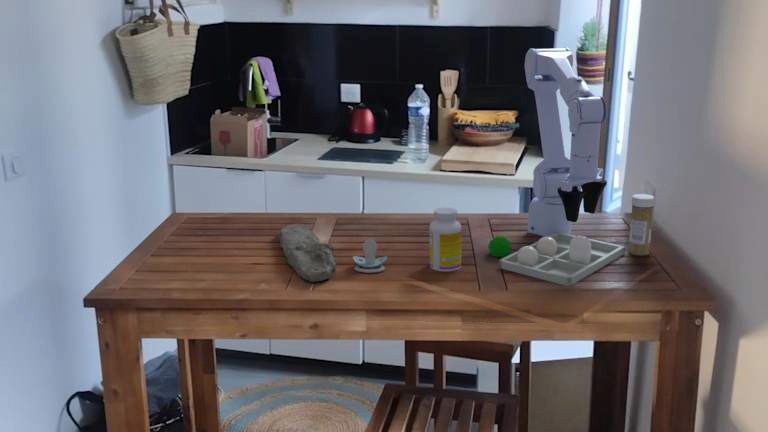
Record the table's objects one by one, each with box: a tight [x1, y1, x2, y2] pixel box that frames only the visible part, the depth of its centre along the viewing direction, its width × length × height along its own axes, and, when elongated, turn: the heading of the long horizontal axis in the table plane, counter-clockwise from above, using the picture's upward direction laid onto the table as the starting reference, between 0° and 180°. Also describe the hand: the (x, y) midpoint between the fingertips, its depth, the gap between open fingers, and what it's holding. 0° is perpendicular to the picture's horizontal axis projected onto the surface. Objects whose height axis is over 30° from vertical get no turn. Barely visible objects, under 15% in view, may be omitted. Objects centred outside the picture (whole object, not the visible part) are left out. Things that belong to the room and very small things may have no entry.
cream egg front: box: [517, 245, 538, 267], centre depth 163 cm, size 4×4×4 cm
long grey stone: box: [278, 223, 337, 283], centre depth 174 cm, size 35×5×10 cm
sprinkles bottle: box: [628, 193, 655, 256], centre depth 169 cm, size 5×5×13 cm
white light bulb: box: [569, 234, 591, 265], centre depth 163 cm, size 4×4×6 cm
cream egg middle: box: [537, 236, 557, 257], centre depth 169 cm, size 4×4×4 cm
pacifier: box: [352, 238, 388, 274], centre depth 165 cm, size 7×6×6 cm
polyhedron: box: [488, 235, 513, 258], centre depth 171 cm, size 5×5×5 cm
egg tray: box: [498, 232, 626, 288], centre depth 167 cm, size 16×24×2 cm
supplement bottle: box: [429, 207, 462, 272], centre depth 163 cm, size 7×7×13 cm
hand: (580, 216), depth 168 cm, fingers open, 7 cm apart
